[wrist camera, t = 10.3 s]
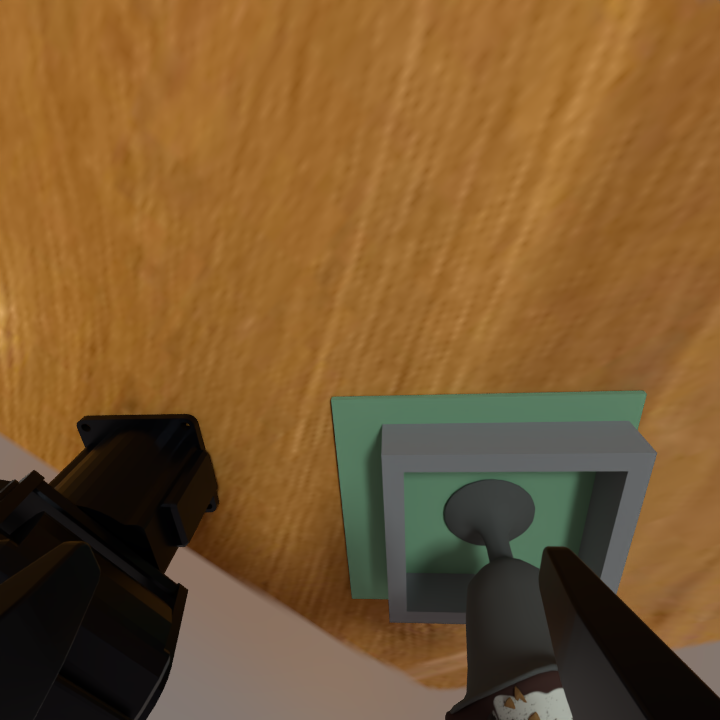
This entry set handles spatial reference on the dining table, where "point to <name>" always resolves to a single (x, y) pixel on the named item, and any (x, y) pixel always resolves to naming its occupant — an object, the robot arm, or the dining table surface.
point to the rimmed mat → (479, 462)
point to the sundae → (504, 612)
